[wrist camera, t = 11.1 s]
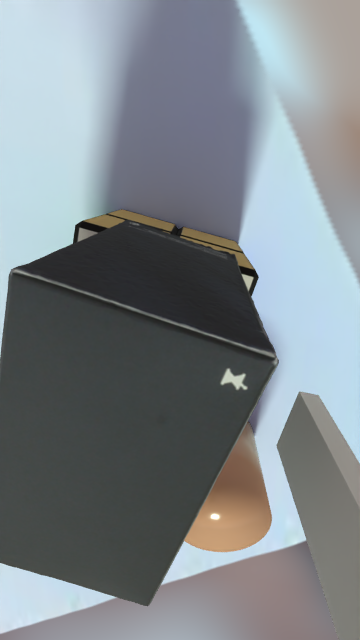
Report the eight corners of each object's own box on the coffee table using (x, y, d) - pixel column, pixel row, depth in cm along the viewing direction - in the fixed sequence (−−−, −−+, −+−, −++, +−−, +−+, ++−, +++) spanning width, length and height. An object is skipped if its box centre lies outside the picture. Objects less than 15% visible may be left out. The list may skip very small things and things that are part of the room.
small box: (117, 212, 16) (-11, 252, 6) (240, 254, 16) (301, 353, 7) (78, 381, 20) (-37, 566, 10) (177, 411, 20) (157, 615, 11)
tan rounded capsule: (170, 457, 35) (161, 541, 27) (185, 399, 32) (181, 474, 24) (241, 471, 35) (254, 559, 27) (263, 414, 32) (285, 494, 24)
